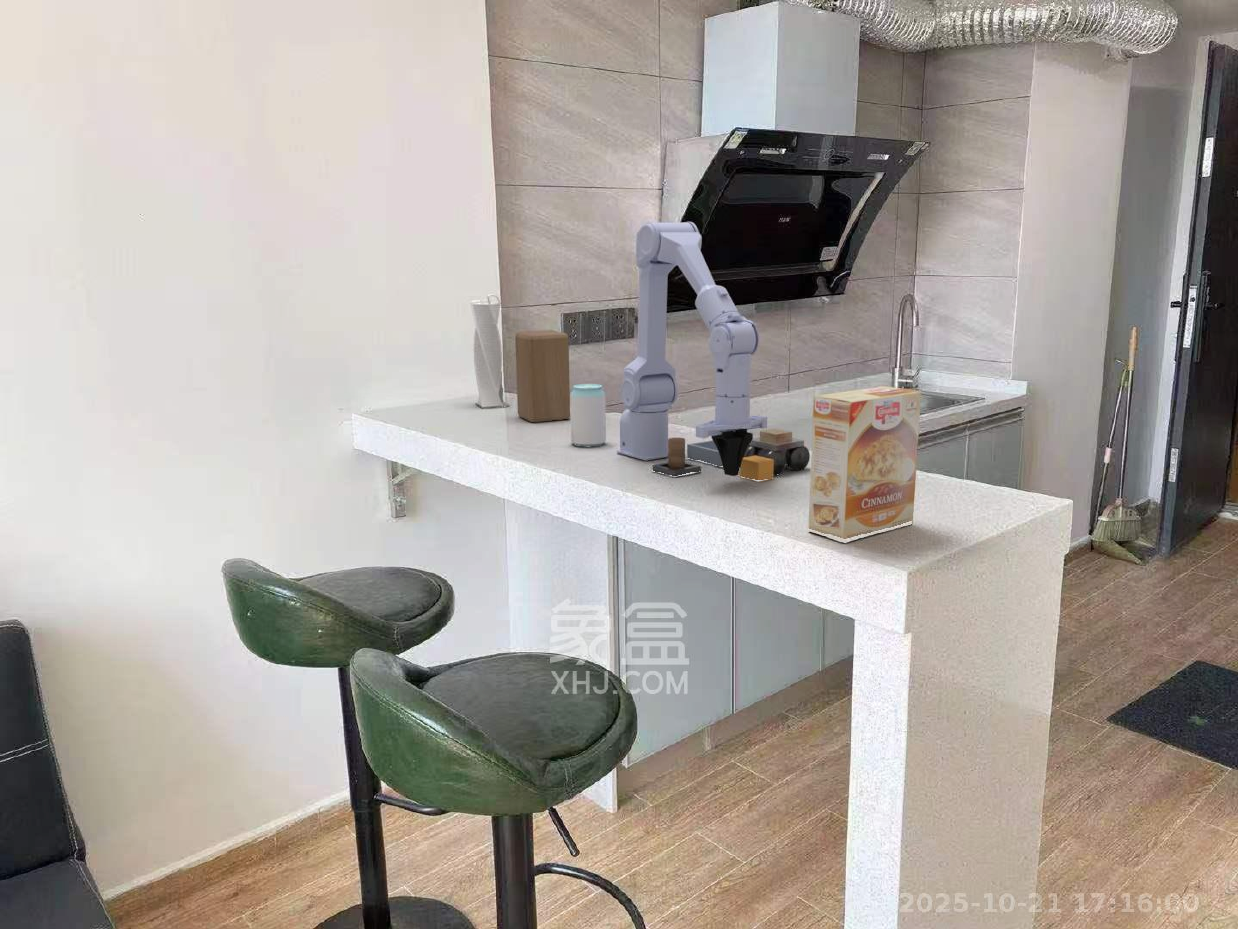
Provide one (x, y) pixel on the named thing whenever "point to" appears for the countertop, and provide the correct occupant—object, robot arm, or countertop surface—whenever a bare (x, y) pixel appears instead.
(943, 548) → the countertop surface
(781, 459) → the trolley
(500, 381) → the skyscraper
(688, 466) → the socket ring
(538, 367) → the block
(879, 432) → the coffeecake box
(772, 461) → the block
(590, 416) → the can
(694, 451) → the tray
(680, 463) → the pin
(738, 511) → the countertop surface
